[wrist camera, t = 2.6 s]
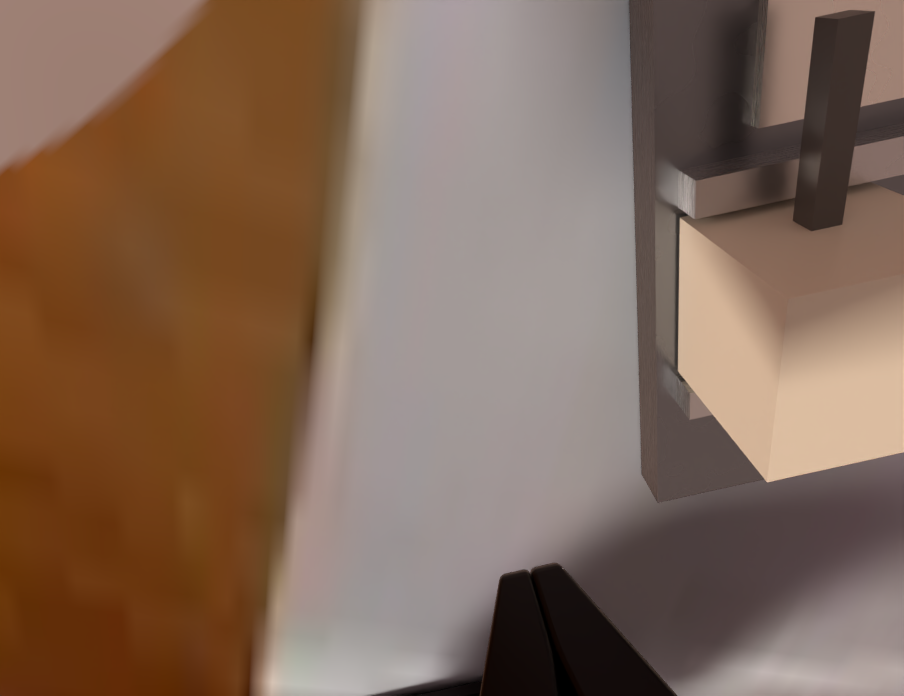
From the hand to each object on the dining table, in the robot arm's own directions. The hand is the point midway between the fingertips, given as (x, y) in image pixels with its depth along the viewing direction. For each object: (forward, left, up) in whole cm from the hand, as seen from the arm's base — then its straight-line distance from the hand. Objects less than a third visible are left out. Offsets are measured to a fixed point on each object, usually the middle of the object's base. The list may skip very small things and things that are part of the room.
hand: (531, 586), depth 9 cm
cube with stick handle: (+7, +2, -7) cm, 10 cm away
